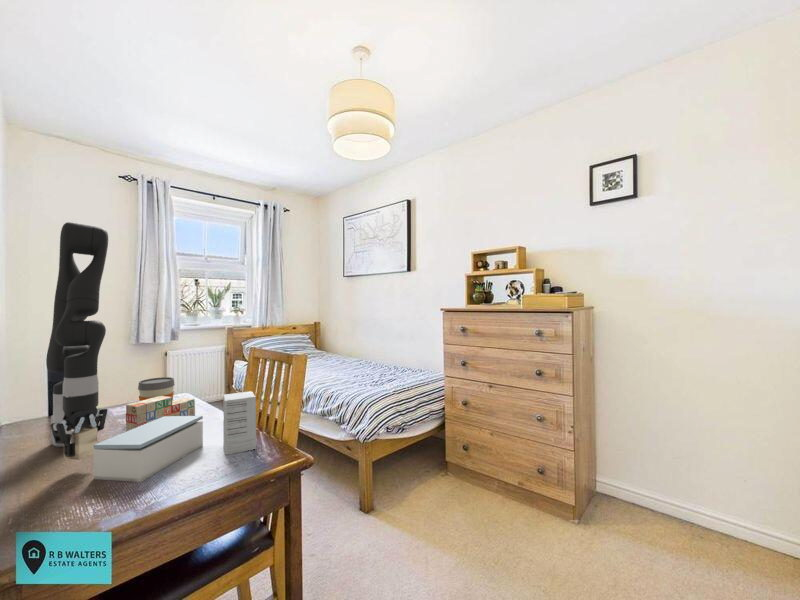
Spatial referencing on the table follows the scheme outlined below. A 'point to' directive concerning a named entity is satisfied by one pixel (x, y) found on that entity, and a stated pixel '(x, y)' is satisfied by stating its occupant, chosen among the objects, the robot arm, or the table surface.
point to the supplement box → (239, 422)
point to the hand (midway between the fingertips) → (80, 451)
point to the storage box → (147, 456)
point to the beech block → (84, 443)
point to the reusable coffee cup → (156, 388)
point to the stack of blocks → (157, 410)
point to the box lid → (148, 433)
